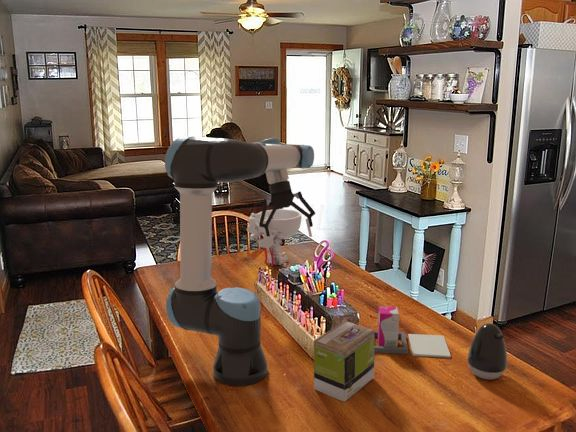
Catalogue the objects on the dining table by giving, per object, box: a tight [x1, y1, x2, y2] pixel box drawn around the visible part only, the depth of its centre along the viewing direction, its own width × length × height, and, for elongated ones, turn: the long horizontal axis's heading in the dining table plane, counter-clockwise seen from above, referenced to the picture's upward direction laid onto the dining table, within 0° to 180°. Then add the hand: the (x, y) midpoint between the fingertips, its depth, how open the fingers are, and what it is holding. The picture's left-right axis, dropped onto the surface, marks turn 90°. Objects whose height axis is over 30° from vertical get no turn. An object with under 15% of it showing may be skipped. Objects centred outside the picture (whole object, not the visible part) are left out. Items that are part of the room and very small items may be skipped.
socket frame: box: [374, 330, 409, 355], centre depth 164 cm, size 11×11×2 cm
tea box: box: [313, 320, 376, 403], centre depth 141 cm, size 15×10×15 cm, turn 141°
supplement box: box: [377, 306, 400, 347], centre depth 163 cm, size 6×6×12 cm
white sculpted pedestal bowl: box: [246, 208, 303, 268], centre depth 233 cm, size 25×19×23 cm
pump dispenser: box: [467, 322, 508, 381], centre depth 145 cm, size 10×10×15 cm
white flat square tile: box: [407, 333, 452, 359], centre depth 163 cm, size 13×11×1 cm
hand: (292, 241), depth 187 cm, fingers open, 13 cm apart
